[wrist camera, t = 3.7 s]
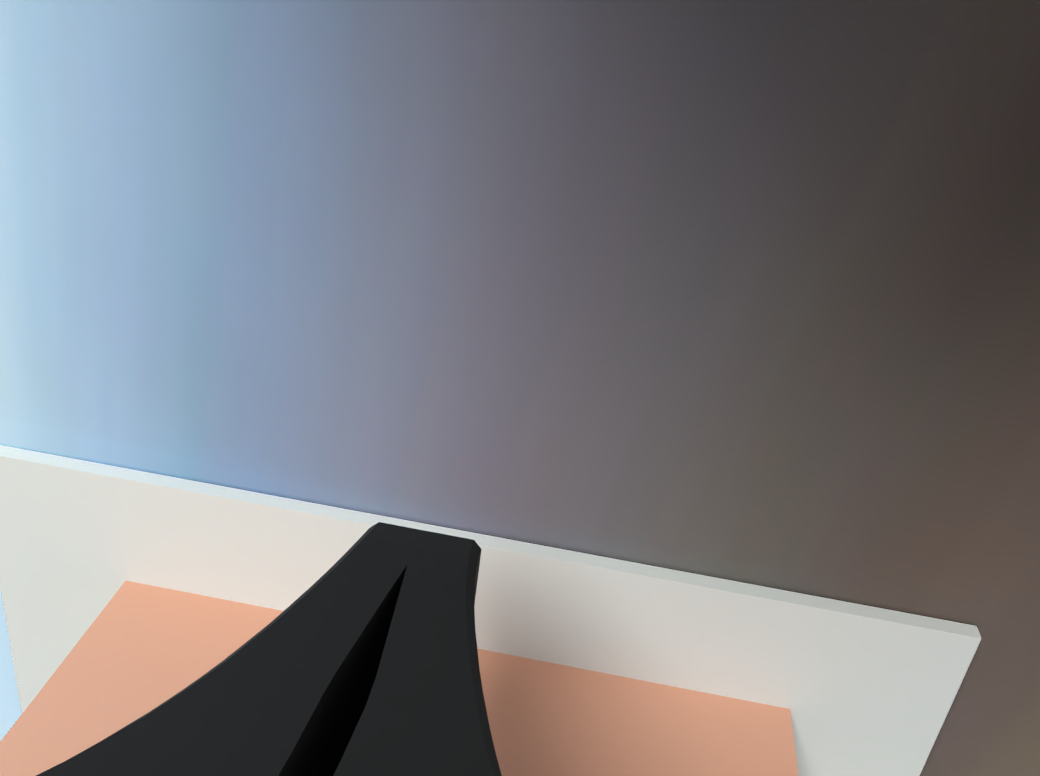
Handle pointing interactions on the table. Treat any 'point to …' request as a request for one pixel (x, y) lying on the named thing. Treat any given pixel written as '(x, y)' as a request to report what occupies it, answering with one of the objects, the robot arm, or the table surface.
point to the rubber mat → (482, 605)
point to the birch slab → (505, 682)
